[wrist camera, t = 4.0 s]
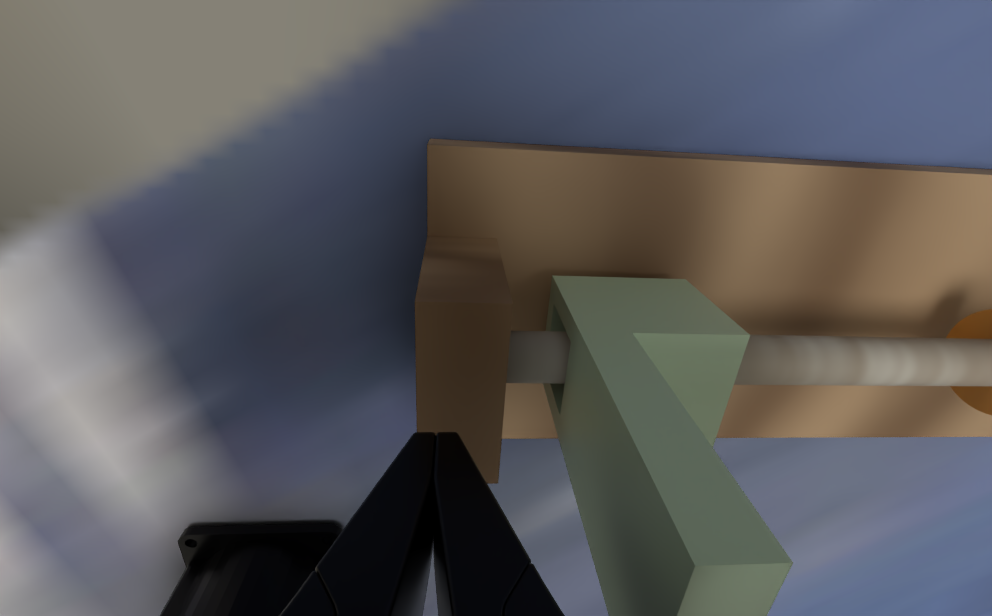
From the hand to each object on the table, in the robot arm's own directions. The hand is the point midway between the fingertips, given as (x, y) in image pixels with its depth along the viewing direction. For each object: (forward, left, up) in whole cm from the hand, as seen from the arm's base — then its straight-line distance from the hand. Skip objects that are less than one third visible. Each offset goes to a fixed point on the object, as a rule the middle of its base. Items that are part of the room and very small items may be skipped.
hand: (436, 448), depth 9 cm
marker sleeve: (+5, 0, -5) cm, 7 cm away
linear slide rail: (+11, 0, -8) cm, 14 cm away
